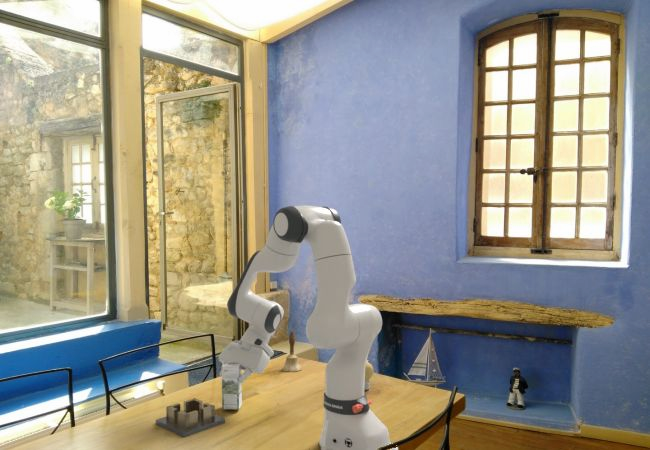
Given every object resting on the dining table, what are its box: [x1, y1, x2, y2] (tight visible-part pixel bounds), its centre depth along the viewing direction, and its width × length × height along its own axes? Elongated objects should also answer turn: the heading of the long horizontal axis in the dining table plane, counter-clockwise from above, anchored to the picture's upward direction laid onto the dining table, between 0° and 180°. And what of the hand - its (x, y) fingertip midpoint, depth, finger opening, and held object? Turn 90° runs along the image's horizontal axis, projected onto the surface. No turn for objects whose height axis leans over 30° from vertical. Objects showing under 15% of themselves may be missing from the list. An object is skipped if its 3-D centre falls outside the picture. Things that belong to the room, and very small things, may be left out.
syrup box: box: [221, 362, 243, 411], centre depth 176 cm, size 6×6×14 cm
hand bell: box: [281, 330, 303, 373], centre depth 222 cm, size 8×8×16 cm
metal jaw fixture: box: [155, 397, 226, 438], centre depth 164 cm, size 15×15×5 cm
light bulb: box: [364, 361, 375, 391], centre depth 197 cm, size 6×6×10 cm
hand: (230, 378), depth 175 cm, fingers closed on syrup box, 8 cm apart
